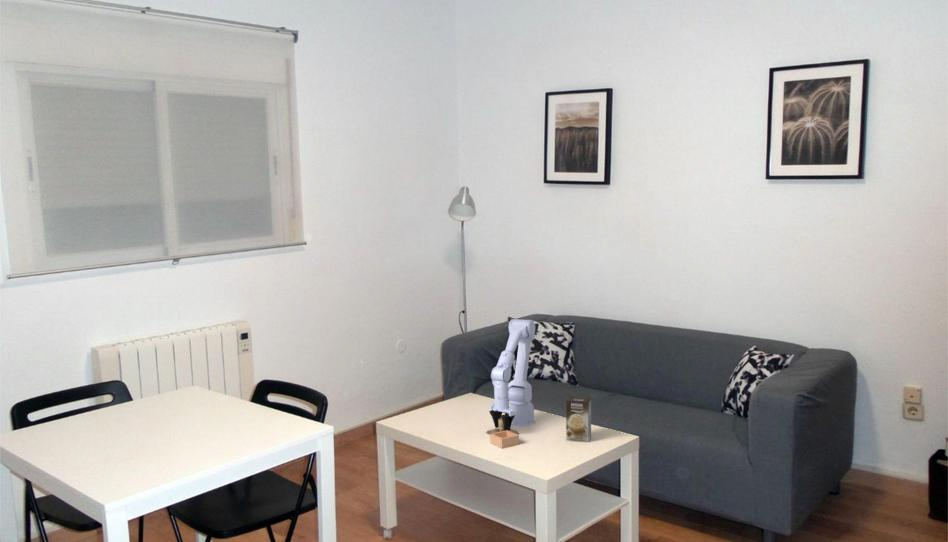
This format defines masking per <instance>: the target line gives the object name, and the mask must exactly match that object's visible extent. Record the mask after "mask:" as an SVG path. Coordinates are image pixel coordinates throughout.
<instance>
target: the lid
mask: <svg viewBox="0 0 948 542" xmlns="http://www.w3.org/2000/svg"><path fill="white" fill-rule="evenodd" d="M498 422H499V428H494V429H489V430H487V431H486V432H487V433H489V434H492V433H497V432H501V431H504V425H503V420H502V418H500V419H498ZM510 432H513V433H515V434H518V433H519V432H518V431H516V430H514V429H512V428H510ZM487 433H486V434H487ZM489 434H488V435H489Z"/></svg>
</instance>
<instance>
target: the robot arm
mask: <svg viewBox="0 0 948 542" xmlns="http://www.w3.org/2000/svg"><path fill="white" fill-rule="evenodd" d="M508 333H509V335H508V336H509V337H508V339H507V342H506V347H505V350H503V351H501V352H500V356H499V358H498V361H497V363H496V366H494V367H493V368H492V369H491V373H490V379H491V382H492V385H493V393H494V394H493V395H494V397H493V399H494V402H491V403H489V408H490V409H491V410H489V412H488V413H489V415H491V418H492V421H493V424H494V429H497V428H499V422H498V419H500V418H502V420H503V425H504V431H505V430H508V431H510V429H511V427H512V426H514V427H516V428H520V427H525V426H528V425H533V424H536V421H535V407H534V405H533V403H532V402H531V401H532V399H533V392H532V387H533V386H532V385H531V384H530V383H529V381H527V377H528V369H529V362H530V353H531V347H532V341H534V339H535V334H536V323H535V322H534V320H533V319H521V318H520V319H518V318H511V319H510V321H509V322H508ZM517 346H518V347H517ZM516 349H517V355H516V356H517V357H515V354H514V353H515V351H516ZM515 358H516V363H515V371H514V378H513V380H511V376H512V365H513V363H514V360H515ZM510 380H511V381H510ZM509 381H510V382H509Z"/></svg>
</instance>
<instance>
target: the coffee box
mask: <svg viewBox="0 0 948 542" xmlns="http://www.w3.org/2000/svg"><path fill="white" fill-rule="evenodd" d="M565 414H566V415H565V419H566V420H565V421H566V422H565V424H566V425H565V427H566V431H565V432H566V433H565V435H566V438H565V439H566V440H565V441H573V442H582V443H589V442H590V441H591V439H592V398H591V397H583V396H582V397H581V396H580V397H579V396H568V397H567V399H566V400H565Z"/></svg>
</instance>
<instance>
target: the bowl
mask: <svg viewBox="0 0 948 542" xmlns="http://www.w3.org/2000/svg"><path fill="white" fill-rule="evenodd" d="M489 437H490V438H489V441H490V442H489V443H490V444H491V445H493V446H495V447H498V448H500V449H502V450H503V449H506V448H510V447H514V446H517V445H520V434H519V435H517V434H515V433H513V432H510V431H508V430H505V431H501V432H497V433H492V434H490V435H489Z"/></svg>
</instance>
